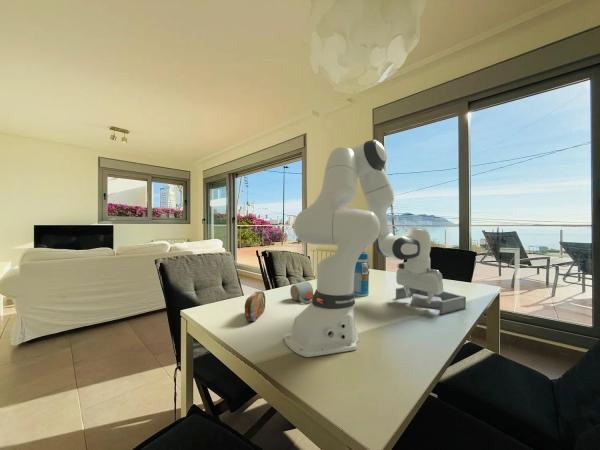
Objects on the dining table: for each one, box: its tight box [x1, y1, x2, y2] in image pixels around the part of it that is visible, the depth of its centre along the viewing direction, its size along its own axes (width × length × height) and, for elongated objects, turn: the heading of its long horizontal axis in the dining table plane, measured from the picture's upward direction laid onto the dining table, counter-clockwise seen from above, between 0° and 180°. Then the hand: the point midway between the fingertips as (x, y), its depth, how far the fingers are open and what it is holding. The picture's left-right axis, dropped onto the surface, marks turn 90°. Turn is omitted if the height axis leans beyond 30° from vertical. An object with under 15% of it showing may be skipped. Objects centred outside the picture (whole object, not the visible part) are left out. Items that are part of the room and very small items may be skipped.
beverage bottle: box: [353, 251, 370, 297], centre depth 127 cm, size 8×8×20 cm
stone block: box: [410, 294, 442, 310], centre depth 112 cm, size 12×5×10 cm
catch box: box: [395, 286, 467, 315], centre depth 114 cm, size 15×22×4 cm
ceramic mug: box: [289, 281, 314, 305], centre depth 116 cm, size 11×8×8 cm
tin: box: [244, 291, 266, 322], centre depth 97 cm, size 15×3×8 cm, turn 168°
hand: (418, 299), depth 110 cm, fingers open, 8 cm apart
